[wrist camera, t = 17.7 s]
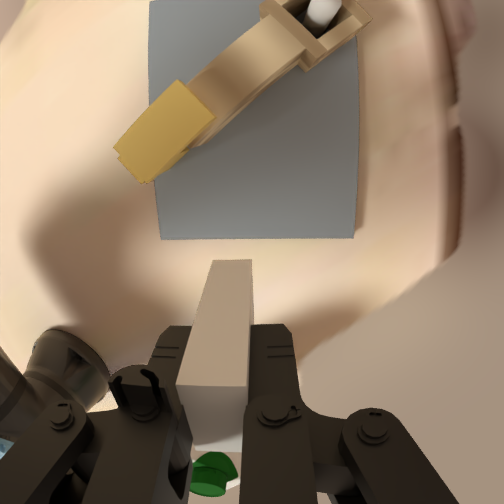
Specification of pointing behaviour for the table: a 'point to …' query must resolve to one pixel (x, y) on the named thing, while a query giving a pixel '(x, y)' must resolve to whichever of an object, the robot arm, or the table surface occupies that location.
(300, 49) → the link
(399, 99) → the table surface
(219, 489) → the milk carton
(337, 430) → the robot arm
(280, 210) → the deck
